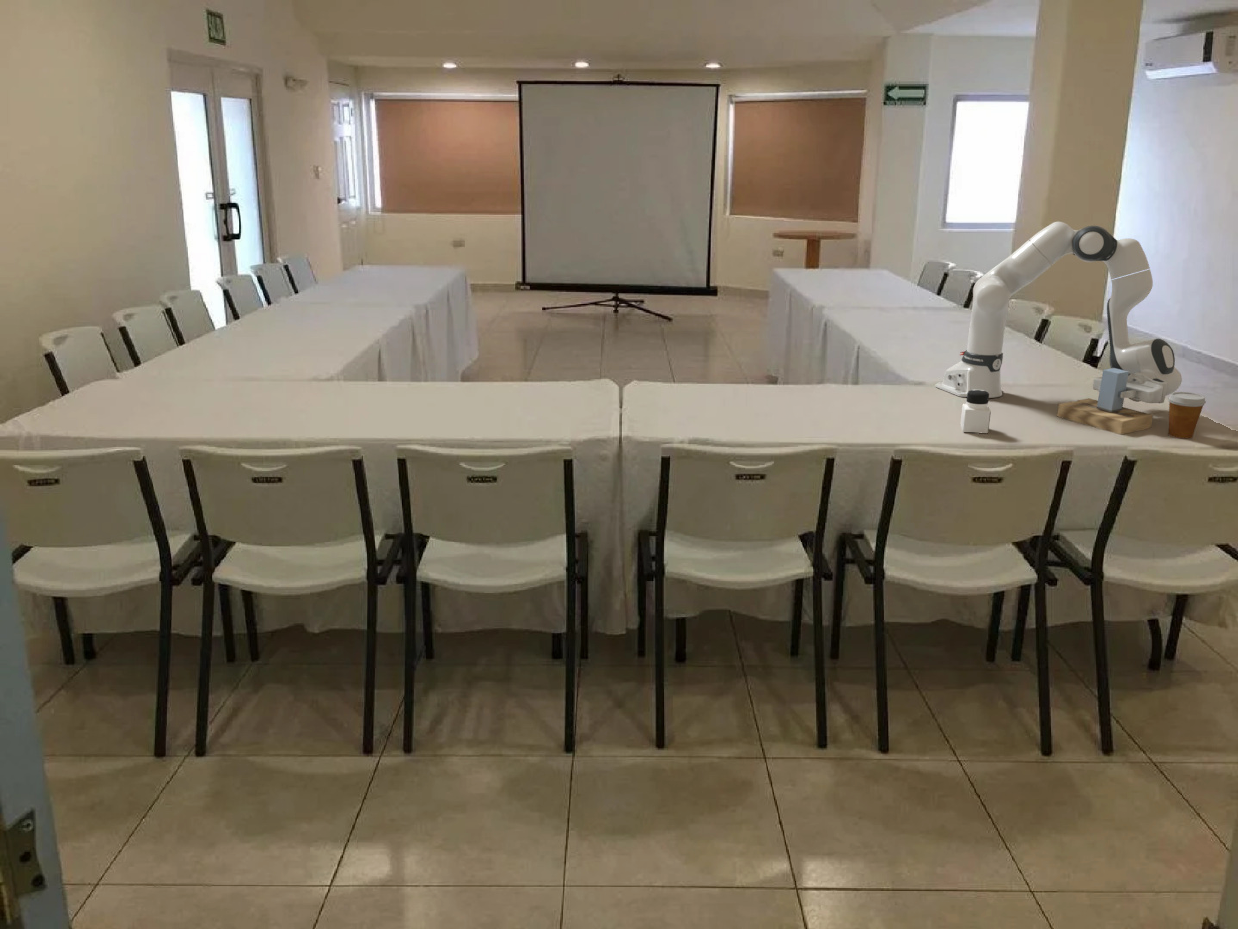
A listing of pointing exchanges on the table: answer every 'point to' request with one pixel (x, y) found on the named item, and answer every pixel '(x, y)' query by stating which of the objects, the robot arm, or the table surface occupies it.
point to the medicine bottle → (976, 412)
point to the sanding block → (1112, 389)
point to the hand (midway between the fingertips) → (1110, 392)
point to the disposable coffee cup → (1184, 413)
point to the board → (1105, 417)
